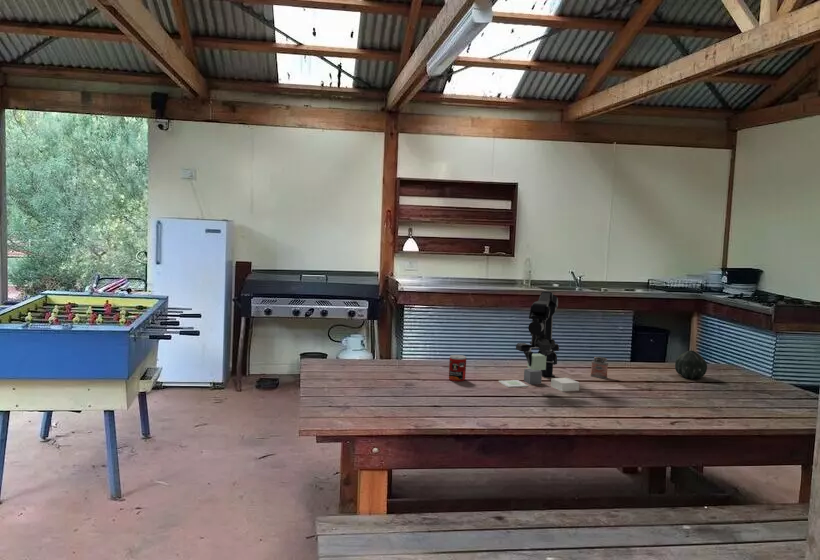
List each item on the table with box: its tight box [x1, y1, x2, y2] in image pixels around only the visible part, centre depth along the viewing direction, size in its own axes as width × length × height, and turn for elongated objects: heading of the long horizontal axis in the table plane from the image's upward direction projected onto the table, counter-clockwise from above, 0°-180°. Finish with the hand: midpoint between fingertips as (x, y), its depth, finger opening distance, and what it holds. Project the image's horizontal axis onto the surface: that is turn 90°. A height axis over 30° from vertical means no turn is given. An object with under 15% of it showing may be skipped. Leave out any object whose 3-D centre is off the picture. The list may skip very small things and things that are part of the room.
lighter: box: [590, 356, 609, 379], centre depth 317 cm, size 8×3×10 cm, turn 62°
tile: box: [498, 379, 529, 388], centre depth 295 cm, size 10×10×1 cm
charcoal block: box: [523, 368, 543, 385], centre depth 300 cm, size 6×6×6 cm
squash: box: [674, 350, 708, 380], centre depth 325 cm, size 14×15×15 cm
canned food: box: [448, 354, 467, 382], centre depth 299 cm, size 8×8×11 cm
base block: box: [550, 377, 580, 392], centre depth 291 cm, size 9×9×4 cm
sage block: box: [526, 353, 547, 370], centre depth 285 cm, size 6×6×6 cm
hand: (536, 366), depth 285 cm, fingers closed on sage block, 6 cm apart
